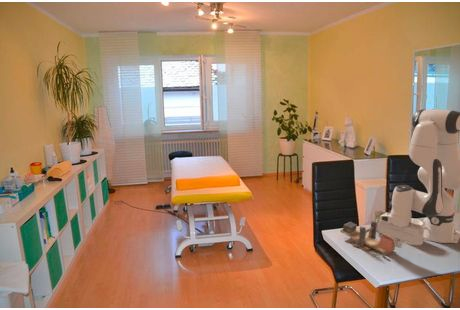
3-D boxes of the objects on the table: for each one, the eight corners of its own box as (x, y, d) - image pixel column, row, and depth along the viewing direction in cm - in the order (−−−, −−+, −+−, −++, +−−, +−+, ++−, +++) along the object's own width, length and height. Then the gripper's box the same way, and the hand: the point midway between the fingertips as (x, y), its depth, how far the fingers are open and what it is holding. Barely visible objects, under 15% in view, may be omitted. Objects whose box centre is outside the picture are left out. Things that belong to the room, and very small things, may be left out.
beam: (339, 232, 187) (341, 221, 185) (348, 228, 192) (350, 217, 190) (385, 255, 168) (388, 243, 166) (394, 249, 173) (397, 237, 171)
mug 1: (390, 229, 197) (391, 213, 195) (383, 237, 188) (384, 220, 186) (375, 226, 203) (376, 210, 201) (367, 233, 193) (369, 216, 191)
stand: (353, 245, 179) (354, 225, 177) (366, 238, 187) (367, 218, 185) (384, 257, 167) (386, 236, 164) (397, 249, 175) (399, 228, 172)
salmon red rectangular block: (378, 246, 173) (380, 236, 171) (382, 244, 175) (384, 233, 174) (390, 252, 168) (392, 241, 167) (394, 250, 171) (396, 239, 169)
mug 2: (430, 240, 184) (432, 221, 182) (430, 248, 175) (432, 228, 173) (401, 235, 191) (403, 216, 188) (400, 242, 182) (402, 223, 180)
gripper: (426, 224, 158) (423, 252, 161) (382, 212, 174) (380, 238, 177) (421, 228, 155) (418, 256, 157) (376, 215, 170) (374, 241, 173)
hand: (398, 246), depth 167 cm, fingers closed
